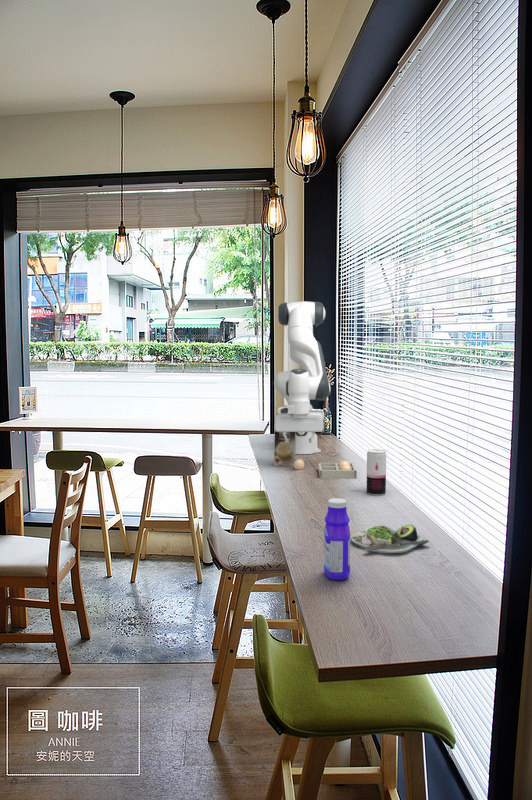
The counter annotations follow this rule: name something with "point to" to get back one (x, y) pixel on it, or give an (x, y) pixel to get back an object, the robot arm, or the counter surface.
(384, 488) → the beverage can
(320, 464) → the carton
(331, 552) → the bottle
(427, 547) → the counter surface
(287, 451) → the coffee box
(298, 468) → the egg
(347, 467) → the egg
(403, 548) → the avocado toast plate
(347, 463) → the egg
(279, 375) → the robot arm
